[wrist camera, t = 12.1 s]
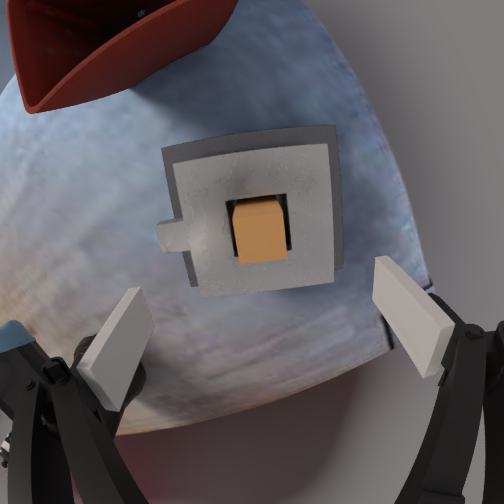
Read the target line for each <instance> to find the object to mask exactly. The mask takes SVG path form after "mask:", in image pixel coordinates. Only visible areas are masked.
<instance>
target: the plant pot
mask: <svg viewBox="0 0 504 504" xmlns="http://www.w3.org/2000/svg"><path fill="white" fill-rule="evenodd" d="M237 3H238V0H8V1H7V4H6V8H7V20H8V29H9V36H10V43H11V49H12V55H13V61H14V66H15V71H16V76H17V80H18V84H19V88H20V92H21V96H22V100H23V104H24V107H25V110H26V112H28V113H29V114H34V113H40V112H46V111H51V110H56V109H60V108H65V107H70V106H74V105H78V104H82V103H85V102H89V101H93V100H96V99H100V98H103V97H106V96H109V95H112V94H115V93H118V92H120V91H123V90H126V89H128V88H131V87H132V86H134V85H136V84H137V83H139V82H140V81H142V80H143V79H145V78H147V77H148V76H150V75H151V74H153V73H155V72H156V71H158V70H160V69H161V68H163V67H165V66H167V65H168V64H170V63H172V62H174V61H176V60H177V59H179V58H181V57H183V56H185V55H187V54H189V53H191V52H193V51H195V50H197V49H199V48H201V47H203V46H205V45H208V44H209V43H210V42H212V41H213V40H214V39H215V38H216V36H217V35H218V34H219V33H220V31H221V30H222V29H223V27H224V26H225V25H226V23H227V21H228V20H229V18H230V16H231V15H232V13H233V11H234V9H235V7H236V5H237ZM142 9H145V14H144V15H143V16H141V17H137V15H136V14H137V12H138V11H140V10H142Z"/></svg>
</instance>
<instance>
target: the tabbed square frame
mask: <svg viewBox="0 0 504 504" xmlns="http://www.w3.org/2000/svg"><path fill="white" fill-rule="evenodd" d="M161 150H162V155H163V161H164V167H165V172H166V178H167V183H168V188H169V193H170V198H171V203H172V208H173V213H174V218H175V219H171V220H165V221H160V222H159V223H157V224H156V225H155V228H156V232H157V236H158V240H159V244H160V248H161V251H162V254H166V253H173V252H181V251H182V253H183V257H184V261H185V265H186V269H187V273H188V277H189V281H190V284H191V287H194V286H199V289H200V293H201V297H202V298H208V297H218V296H228V295H237V294H246V293H255V292H264V291H272V290H280V289H288V288H296V287H303V286H311V285H318V284H325V283H332V282H334V270H335V269H342V268H343V222H342V197H341V180H340V166H339V155H338V144H337V135H336V126H335V125H323V126H305V127H291V128H280V129H270V130H261V131H253V132H245V133H238V134H231V135H225V136H219V137H213V138H207V139H202V140H196V141H191V142H186V143H182V144H177V145H172V146H168V147H164V148H161ZM274 194H275V196H276V198H277V200H278V203H279V205H280V207H281V209H282V212H283V220H284V229H285V239H286V250H287V259H280V260H272V261H264V262H256V263H248V264H240V262H239V256H238V250H237V244H236V238H235V232H234V226H233V220H232V218H233V214H234V210H235V206H236V202H237V199H242V198H250V197H258V196H266V195H274Z"/></svg>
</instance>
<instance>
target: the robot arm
mask: <svg viewBox="0 0 504 504" xmlns="http://www.w3.org/2000/svg"><path fill="white" fill-rule="evenodd" d="M372 300H373V301H374V303H375V304H376V306H377V307H378V309H379V310H380V312H381V313H382V315H383V316H384V317H385V319H386V320H387V322H388V323H389V325H390V326H391V328H392V329H393V331H394V332H395V334H396V336H397V337H398V339H399V340H400V342H401V343H402V345H403V346H404V348H405V349H406V351H407V353H408V354H409V356H410V357H411V359H412V361H413V362H414V364H415V366H416V367H417V369H418V370H419V372H420V374H421V376H422V377H423V378H426V377H429V376H431V375H434V374H436V373H437V372H438V369H439V367H440V365H441V364H442V366H443V367H444V368H445V370H444V372H443V375H442V377H441V379H440V381H439V383H438V386H440V388H439V391H438V395H437V399H436V403H435V406H434V410H433V413H432V417H431V419H430V423H429V426H428V429H427V432H426V434H425V437H424V440H423V442H422V445H421V448H420V450H419V453H418V455H417V458H416V460H415V463H414V465H413V467H412V469H411V471H410V474H409V476H408V478H407V480H406V482H405V484H404V486H403V488H402V490H401V492H400V494H399V496H398V498H397V499H396V501H395V503H394V504H465V497H464V496H463V495H462V490H463V487H464V484H465V481H466V477H467V474H468V471H469V467H470V464H471V461H472V457H473V453H474V448H475V444H476V440H477V435H478V430H479V425H480V418H481V412H482V405H483V412H484V424H485V453H486V455H485V456H486V457H485V482H484V492H483V501H482V504H504V321H501V322H500V323H499V324H498V326H497V329H496V331H490V332H485V331H484V330H483V329H482V328H481V327H479V326H478V325H475V324H465V323H464V322H463V321H462V320H461V318H460V317H459V316H458V315H457V314H456V313H455V312H454V311H453V310H452V309H450V307H449V306H448V305H447V304H445V302H444V301H443V300H442V299H441V298H440V297H439V296H437V295H435V294H433V293H428V294H427V293H426V292H425V291H424V290H423V289H422V288H421V287H420V286H419V285H418V284H417V283H416V282H415V281H414V280H413V279H412V278H411V277H410V276H409V275H407V274H406V273H405V272H404V271H403V270H402V269H401V268H400V267H399V266H398V265H397V264H396V263H395V262H394V261H393V260H392V259H391V258H389V257H388V256H380V257H375V272H374V285H373V296H372ZM154 327H155V325H154V322H153V320H152V317H151V314H150V312H149V309H148V306H147V303H146V301H145V298H144V295H143V292H142V289H141V287H135V288H129V289H128V291H127V292H126V293H125V295H124V296H123V298H122V299H121V300H120V302H119V303H118V305H117V306H116V308H115V309H114V310H113V312H112V313H111V315H110V316H109V318H108V319H107V321H106V322H105V324H104V325H103V327H102V328H101V330H100V331H99V333H98V334H95V335H94V336H89V337H86V338H84V339H83V340H82V341H81V342H80V343H79V345H78V346H77V348H76V350H75V353H74V361H73V364H72V366H71V368H70V369H69V367H68V366H67V364H66V363H65V361H64V360H63V358H61V357H53V358H50V357H49V356H48V355H47V354H46V353H45V351H44V350H43V349H42V348H41V347H40V345H39V344H38V343H37V342H36V339H35V338H34V337H32V336H31V335H30V333H29V332H28V331H27V330H26V329H25V327H24V326H23V325H22V324H21V323H20V322H19V321H17V320H10V321H8V322H7V323H5V324H4V325H2V326H1V327H0V447H1V445H2V443H3V442H4V440H5V439H6V437H7V435H8V434H9V432H11V438H10V448H9V460H8V504H75V503H74V497H73V490H72V483H71V475H70V470H71V473H72V476H73V479H74V482H75V484H76V487H77V489H78V492H79V494H80V497H81V499H82V501H83V504H149V503H148V501H147V500H146V499H145V497H144V495H143V494H142V492H141V491H140V489H139V487H138V486H137V484H136V482H135V481H134V479H133V477H132V476H131V474H130V472H129V470H128V468H127V467H126V465H125V463H124V461H123V459H122V457H121V456H120V453H119V451H118V450H117V448H116V445H115V444H114V438H115V435H116V432H117V429H118V427H119V424H120V421H121V418H122V416H123V413H124V410H125V408H126V407H127V406H128V405H129V404H130V402H131V401H132V400H133V399H134V398H135V397H136V396H137V395H138V394H139V393H140V392H141V391H142V389H143V386H144V384H145V381H146V374H145V371H144V368H143V366H142V365H141V363H140V359H141V357H142V354H143V352H144V350H145V348H146V345H147V343H148V341H149V338H150V336H151V334H152V332H153V329H154Z"/></svg>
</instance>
